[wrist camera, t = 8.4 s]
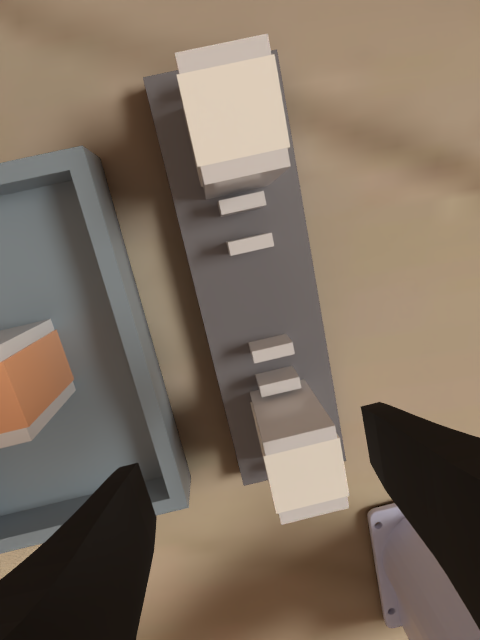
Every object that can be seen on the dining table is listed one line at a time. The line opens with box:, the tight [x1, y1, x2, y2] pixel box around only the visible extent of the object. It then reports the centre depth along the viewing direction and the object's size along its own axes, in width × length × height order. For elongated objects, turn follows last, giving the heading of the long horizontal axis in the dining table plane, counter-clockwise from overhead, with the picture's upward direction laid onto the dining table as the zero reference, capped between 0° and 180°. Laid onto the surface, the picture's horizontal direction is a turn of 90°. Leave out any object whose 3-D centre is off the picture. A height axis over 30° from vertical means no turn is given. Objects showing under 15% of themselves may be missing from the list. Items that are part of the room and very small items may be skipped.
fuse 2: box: [250, 379, 349, 525], centre depth 18 cm, size 4×3×5 cm
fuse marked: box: [0, 319, 76, 448], centre depth 17 cm, size 4×3×5 cm
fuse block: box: [143, 50, 346, 486], centre depth 18 cm, size 21×6×3 cm, turn 12°
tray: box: [0, 146, 191, 554], centre depth 18 cm, size 18×12×2 cm, turn 12°
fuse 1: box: [175, 34, 291, 200], centre depth 14 cm, size 4×3×5 cm
